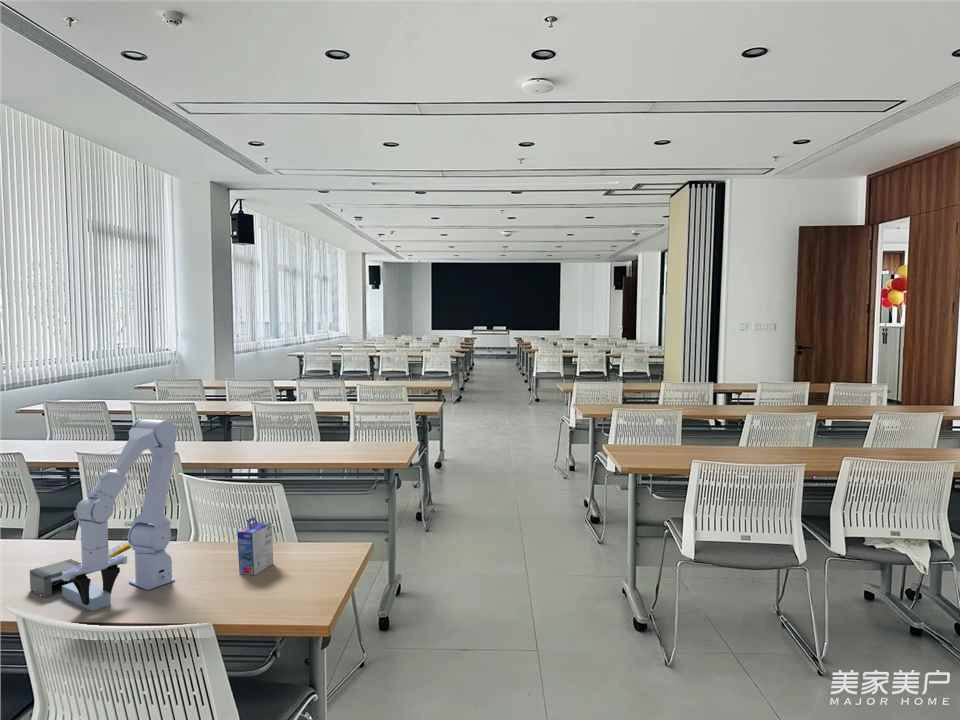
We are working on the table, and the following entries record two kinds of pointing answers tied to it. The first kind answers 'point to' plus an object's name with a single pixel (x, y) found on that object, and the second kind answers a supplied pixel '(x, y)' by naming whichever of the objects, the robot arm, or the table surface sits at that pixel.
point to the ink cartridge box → (255, 547)
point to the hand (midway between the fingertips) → (96, 600)
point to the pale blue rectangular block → (96, 596)
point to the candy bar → (118, 549)
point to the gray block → (49, 576)
